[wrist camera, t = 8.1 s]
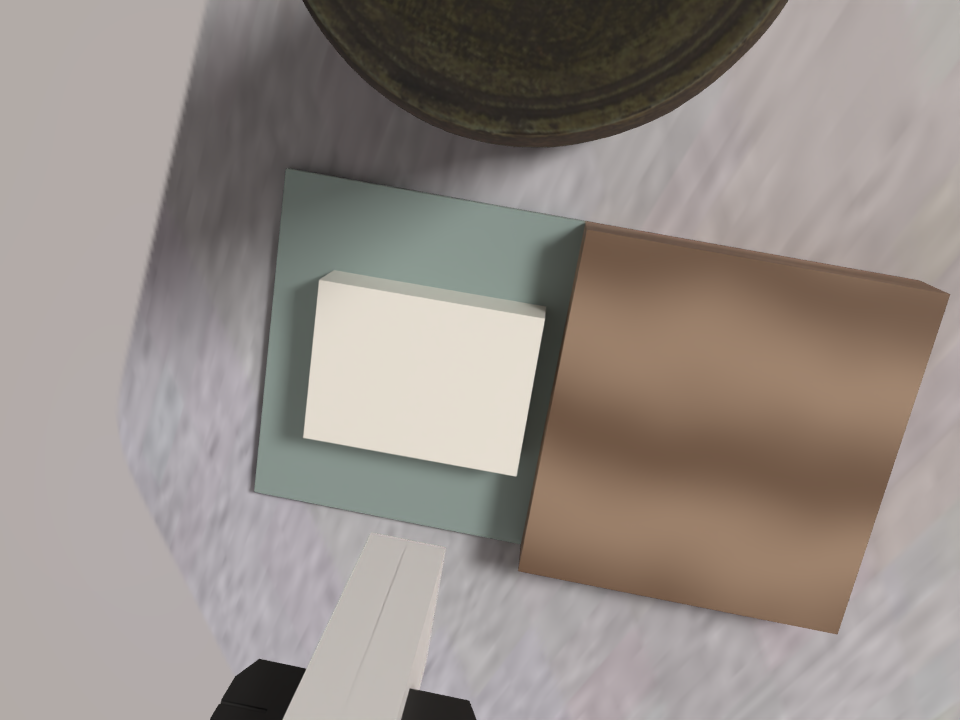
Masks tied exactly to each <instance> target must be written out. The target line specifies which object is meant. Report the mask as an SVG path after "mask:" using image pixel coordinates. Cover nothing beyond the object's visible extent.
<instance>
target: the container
mask: <svg viewBox="0 0 960 720" xmlns="http://www.w3.org/2000/svg"><path fill="white" fill-rule="evenodd" d="M303 2H304V4H305V6H306V8H307V9H308V11H309V13H310V14H311V16H312V17H313V19H314V21H315V22H316V24H317V25H318V27H319V28H320V30H321V31H322V32H323V34H324V35H325V36H326V38H327V39H328V40H329V41H330V43H331V44H332V45H333V47H334V48H335V49H336V50H337V52H338V53H339V54H340V55H341V56H342V57H343V58H344V59H345V61H346V62H347V63H348V64H349V65H350V66H351V67H352V68H353V69H354V70H355V71H356V72H357V73H358V74H359V75H360V76H361V77H362V78H363V79H364V80H365V81H366V82H367V83H368V84H369V85H371V86H372V87H373V88H374V89H376V90H377V91H378V92H379V93H381V94H382V95H383V96H385V97H386V98H387V99H389V100H390V101H392V102H393V103H394V104H396V105H398V106H399V107H401V108H402V109H404V110H406V111H407V112H409V113H411V114H412V115H414V116H415V117H417V118H419V119H421V120H423V121H425V122H427V123H429V124H431V125H433V126H436V127H438V128H440V129H443V130H445V131H447V132H450V133H453V134H456V135H459V136H462V137H466V138H470V139H474V140H477V141H481V142H486V143H491V144H497V145H505V146H513V147H556V146H566V145H573V144H579V143H584V142H588V141H593V140H597V139H602V138H606V137H610V136H613V135H616V134H619V133H622V132H625V131H628V130H630V129H633V128H636V127H639V126H642V125H644V124H646V123H648V122H651V121H653V120H655V119H657V118H659V117H661V116H664V115H665V114H667V113H669V112H671V111H673V110H675V109H676V108H678V107H679V106H681V105H682V104H684V103H685V102H687V101H688V100H690V99H691V98H693V97H694V96H696V95H697V94H699V93H700V92H702V91H703V90H704V89H705V88H707V87H708V86H709V85H711V84H712V83H713V82H714V81H716V80H717V79H718V78H719V77H720V76H722V75H723V74H724V73H725V72H726V71H727V70H729V69H730V68H731V67H732V66H733V65H734V64H735V63H736V62H737V61H738V60H739V59H740V58H741V57H742V56H743V55H744V54H745V53H746V52H747V51H748V50H749V49H750V48H751V47H752V46H753V45H754V44H755V43H756V42H757V41H758V40H759V39H760V38H761V36H762V35H763V34H764V33H765V32H766V31H767V29H768V28H769V27H770V26H771V24H772V23H773V22H774V20H775V19H776V18H777V16H778V15H779V14H780V12H781V11H782V9H783V8H784V6H785V5H786V3H787V2H788V0H303Z"/></svg>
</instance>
